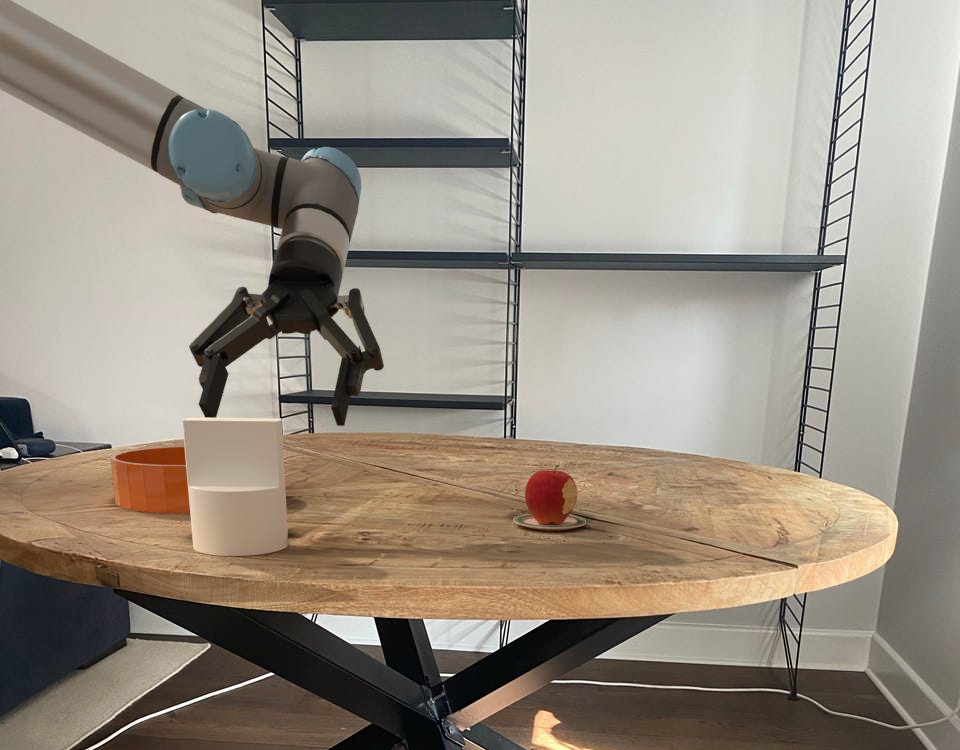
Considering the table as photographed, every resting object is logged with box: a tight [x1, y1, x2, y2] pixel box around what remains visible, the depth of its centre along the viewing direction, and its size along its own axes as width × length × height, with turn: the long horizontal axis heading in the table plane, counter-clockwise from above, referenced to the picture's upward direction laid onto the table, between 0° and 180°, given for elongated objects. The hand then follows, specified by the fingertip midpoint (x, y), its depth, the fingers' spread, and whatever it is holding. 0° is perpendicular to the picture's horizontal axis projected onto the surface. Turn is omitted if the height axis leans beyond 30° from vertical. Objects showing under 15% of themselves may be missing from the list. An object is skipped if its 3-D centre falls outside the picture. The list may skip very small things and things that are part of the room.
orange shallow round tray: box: [110, 445, 190, 514], centre depth 107 cm, size 18×18×6 cm
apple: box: [513, 464, 587, 532], centre depth 99 cm, size 8×8×6 cm
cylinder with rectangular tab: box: [181, 417, 289, 557], centre depth 87 cm, size 9×9×12 cm
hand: (271, 415), depth 91 cm, fingers open, 13 cm apart
